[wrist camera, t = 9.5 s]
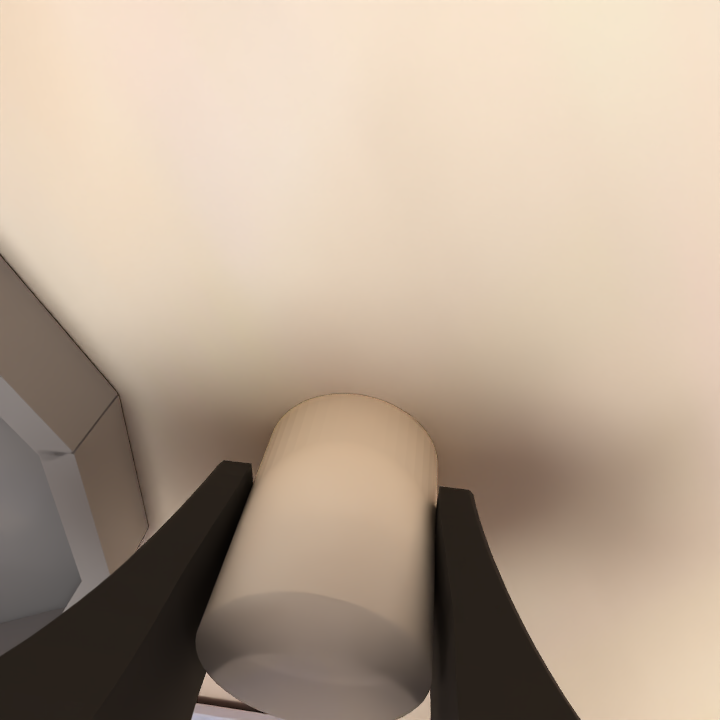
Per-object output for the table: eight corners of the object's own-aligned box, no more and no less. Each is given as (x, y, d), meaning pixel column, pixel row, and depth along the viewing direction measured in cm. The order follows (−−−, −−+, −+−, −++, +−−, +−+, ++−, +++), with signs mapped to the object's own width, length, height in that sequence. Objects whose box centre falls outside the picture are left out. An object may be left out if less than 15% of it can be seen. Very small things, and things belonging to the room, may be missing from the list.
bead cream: (428, 529, 15) (419, 742, 11) (272, 509, 16) (207, 709, 11) (447, 404, 13) (446, 611, 9) (265, 384, 13) (181, 575, 9)
